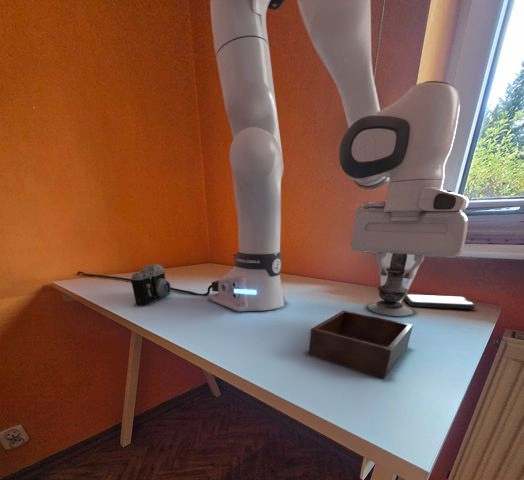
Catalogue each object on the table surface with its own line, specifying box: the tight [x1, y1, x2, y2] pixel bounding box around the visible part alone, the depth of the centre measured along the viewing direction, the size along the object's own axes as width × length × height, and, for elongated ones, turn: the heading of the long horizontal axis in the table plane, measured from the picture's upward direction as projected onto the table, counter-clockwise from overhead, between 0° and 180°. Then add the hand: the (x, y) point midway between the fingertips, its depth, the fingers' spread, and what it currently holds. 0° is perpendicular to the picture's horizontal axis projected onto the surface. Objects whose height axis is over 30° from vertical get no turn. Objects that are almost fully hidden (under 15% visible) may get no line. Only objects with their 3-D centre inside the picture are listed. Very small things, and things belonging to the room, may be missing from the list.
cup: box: [367, 253, 421, 318], centre depth 69 cm, size 12×12×22 cm
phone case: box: [404, 294, 476, 310], centre depth 78 cm, size 9×2×16 cm
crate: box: [308, 310, 414, 379], centre depth 50 cm, size 14×14×5 cm
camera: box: [130, 263, 172, 307], centre depth 80 cm, size 15×7×10 cm, turn 171°
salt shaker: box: [376, 253, 409, 309], centre depth 56 cm, size 6×6×12 cm
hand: (395, 276), depth 56 cm, fingers closed on salt shaker, 3 cm apart
